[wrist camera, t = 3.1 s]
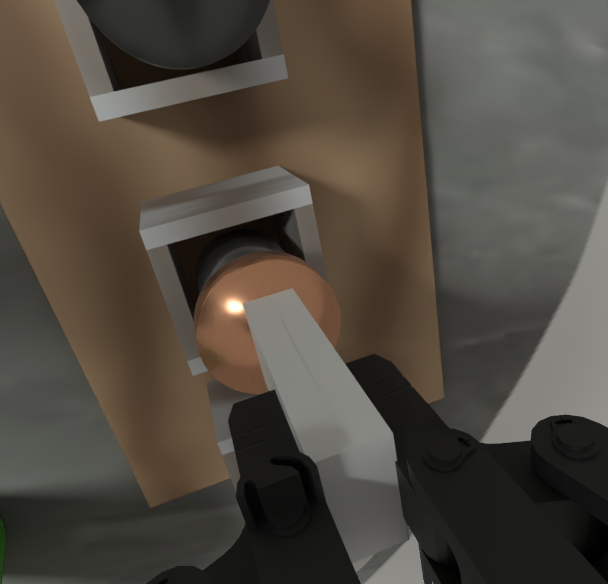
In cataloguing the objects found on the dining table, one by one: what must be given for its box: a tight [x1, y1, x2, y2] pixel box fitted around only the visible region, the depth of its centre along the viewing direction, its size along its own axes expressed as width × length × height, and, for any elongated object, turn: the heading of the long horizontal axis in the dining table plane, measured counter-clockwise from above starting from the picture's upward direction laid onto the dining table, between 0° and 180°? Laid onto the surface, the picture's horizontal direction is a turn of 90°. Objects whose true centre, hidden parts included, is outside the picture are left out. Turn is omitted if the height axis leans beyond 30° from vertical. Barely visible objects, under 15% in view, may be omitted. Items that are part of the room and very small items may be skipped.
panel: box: [0, 0, 444, 508], centre depth 20 cm, size 18×26×6 cm
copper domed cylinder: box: [194, 229, 341, 394], centre depth 17 cm, size 4×4×5 cm
